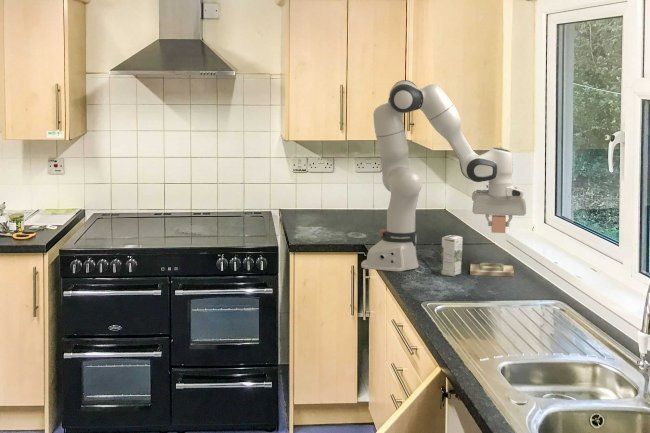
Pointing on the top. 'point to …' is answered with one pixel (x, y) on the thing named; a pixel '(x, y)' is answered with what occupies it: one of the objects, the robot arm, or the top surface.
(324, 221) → the top surface
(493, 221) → the block
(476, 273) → the build board
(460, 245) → the syrup box
